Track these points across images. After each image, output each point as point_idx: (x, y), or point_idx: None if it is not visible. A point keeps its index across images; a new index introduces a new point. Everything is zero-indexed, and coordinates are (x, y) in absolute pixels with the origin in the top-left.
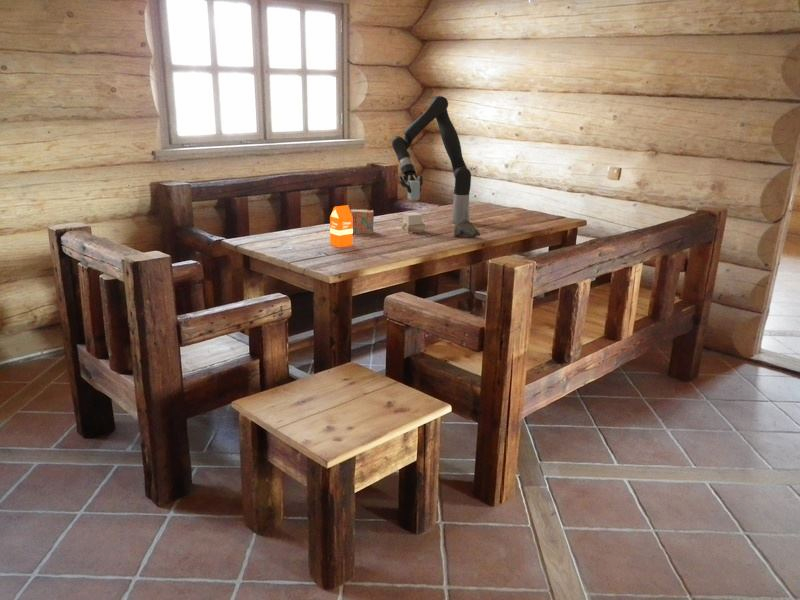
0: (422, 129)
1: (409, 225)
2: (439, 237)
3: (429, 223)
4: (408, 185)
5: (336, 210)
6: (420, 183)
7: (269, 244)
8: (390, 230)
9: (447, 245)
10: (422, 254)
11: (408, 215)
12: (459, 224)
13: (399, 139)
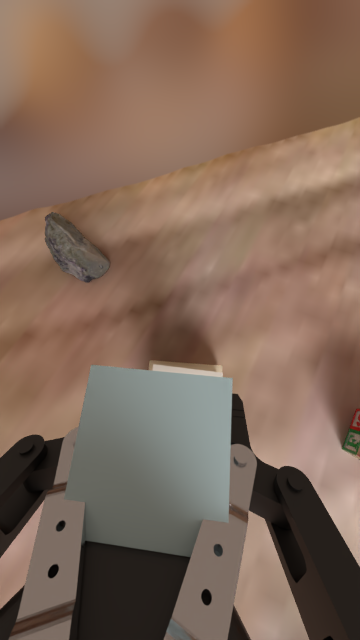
0: None
1: (217, 365)
2: (154, 276)
3: None
4: (239, 444)
5: None
6: (42, 457)
7: None
8: (265, 439)
9: (185, 196)
10: (286, 147)
11: (222, 375)
12: (79, 240)
13: None
